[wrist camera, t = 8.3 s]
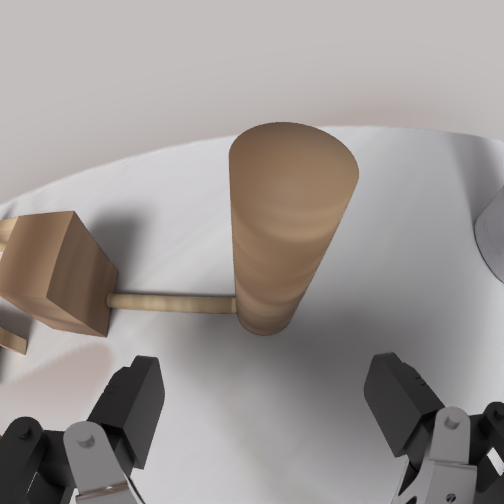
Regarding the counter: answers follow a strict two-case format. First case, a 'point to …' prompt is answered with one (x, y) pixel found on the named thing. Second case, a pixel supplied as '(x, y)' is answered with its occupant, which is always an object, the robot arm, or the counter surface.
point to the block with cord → (243, 237)
